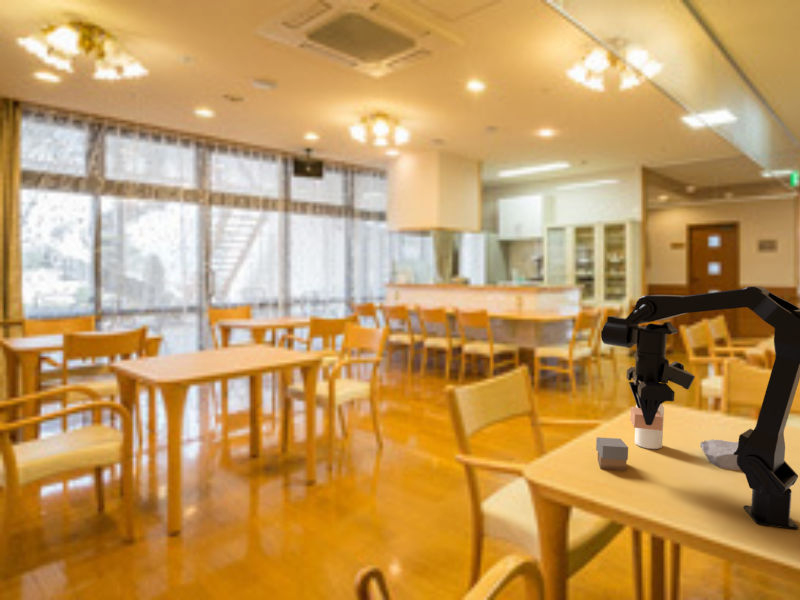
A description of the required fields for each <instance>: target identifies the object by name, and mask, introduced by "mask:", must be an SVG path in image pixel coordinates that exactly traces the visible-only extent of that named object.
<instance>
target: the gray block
mask: <svg viewBox="0 0 800 600" xmlns="http://www.w3.org/2000/svg"><path fill="white" fill-rule="evenodd" d="M595 446H596V448H595V449H596V452H597V454H598V453H599V454H600V456H601V457H602V459H618V460H627V461H628V459H629V447H628V445H627V444H626V443H625V441H624V440H622V438H616V437H615V438H614V437H601V436H600V437H599V436H598V437H596V443H595Z"/></svg>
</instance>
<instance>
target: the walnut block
mask: <svg viewBox="0 0 800 600" xmlns="http://www.w3.org/2000/svg"><path fill="white" fill-rule="evenodd" d="M627 461H628V460H618V459H602V457H601V456H600V454H599V453H598V452H597V462H598V463H597V464H598V466H599V469H600V470H607V471H617V472H625V473H626V472H627Z"/></svg>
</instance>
